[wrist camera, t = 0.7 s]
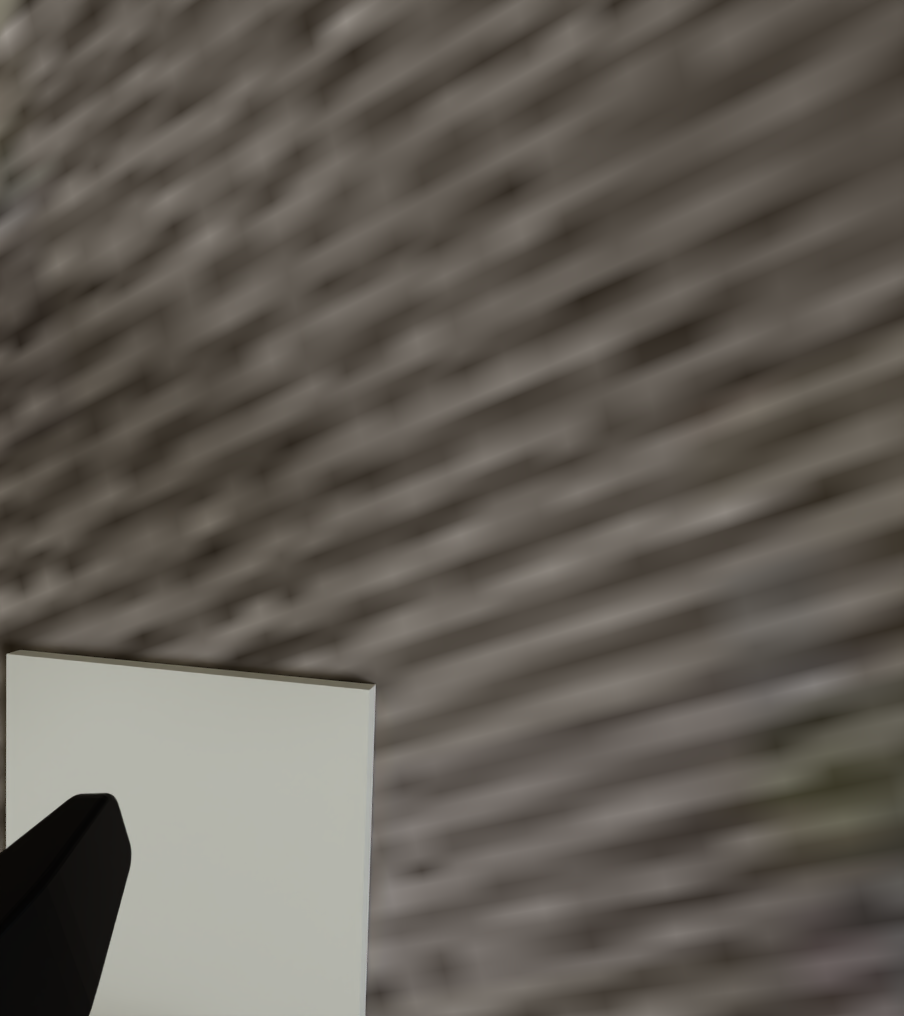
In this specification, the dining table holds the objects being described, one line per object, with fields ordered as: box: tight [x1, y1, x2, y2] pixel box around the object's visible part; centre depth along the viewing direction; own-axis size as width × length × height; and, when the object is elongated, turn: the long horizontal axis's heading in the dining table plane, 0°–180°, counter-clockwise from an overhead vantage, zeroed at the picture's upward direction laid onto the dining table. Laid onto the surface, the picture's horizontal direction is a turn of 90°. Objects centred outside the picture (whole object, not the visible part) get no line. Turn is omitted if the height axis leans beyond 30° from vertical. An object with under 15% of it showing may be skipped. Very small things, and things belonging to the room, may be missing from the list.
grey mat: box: [6, 650, 376, 1016], centre depth 26 cm, size 12×12×1 cm
